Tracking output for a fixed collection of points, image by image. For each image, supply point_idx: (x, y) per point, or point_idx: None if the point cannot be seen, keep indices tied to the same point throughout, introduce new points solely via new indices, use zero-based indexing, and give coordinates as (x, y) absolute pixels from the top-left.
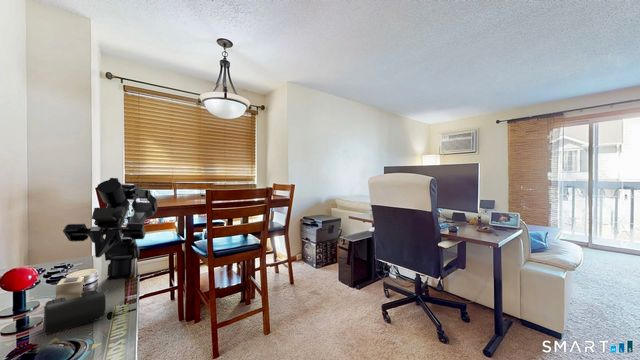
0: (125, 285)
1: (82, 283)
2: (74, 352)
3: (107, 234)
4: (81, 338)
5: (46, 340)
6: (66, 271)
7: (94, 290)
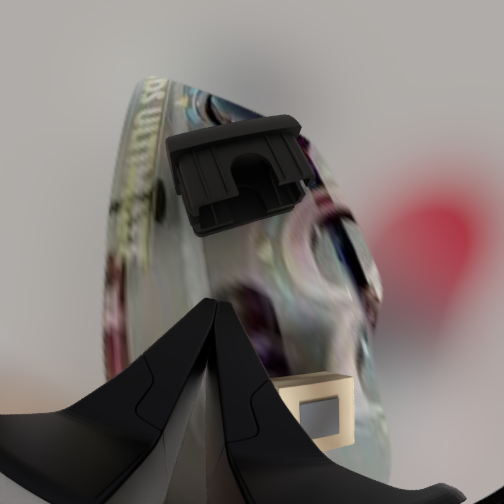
0: None
1: None
2: (211, 97)
3: (101, 459)
4: None
5: None
6: None
7: (200, 200)
